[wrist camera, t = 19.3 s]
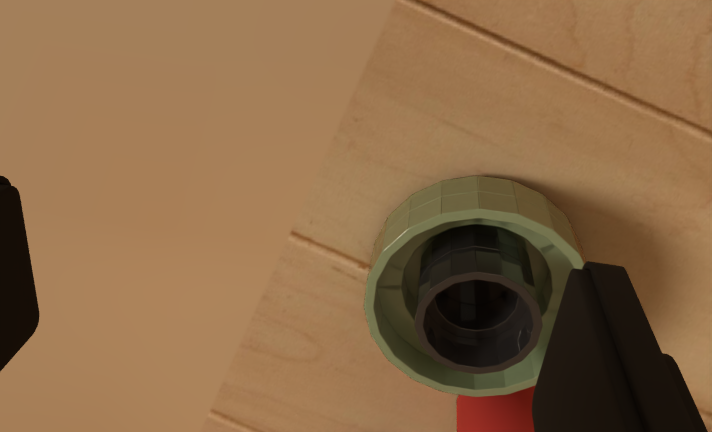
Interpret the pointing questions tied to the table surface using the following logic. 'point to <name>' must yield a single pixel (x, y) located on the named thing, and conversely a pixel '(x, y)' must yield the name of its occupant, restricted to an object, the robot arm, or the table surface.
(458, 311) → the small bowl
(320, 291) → the table surface
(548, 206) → the big bowl
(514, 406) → the beer can
